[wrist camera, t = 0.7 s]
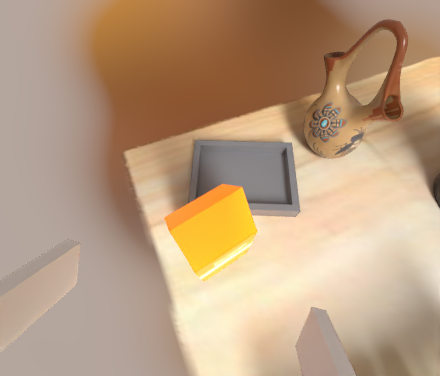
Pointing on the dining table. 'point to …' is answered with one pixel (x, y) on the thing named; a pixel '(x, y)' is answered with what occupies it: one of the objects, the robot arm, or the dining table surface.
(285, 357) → the dining table surface
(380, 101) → the ceramic vessel
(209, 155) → the tray
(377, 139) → the dining table surface
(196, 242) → the orange juice
